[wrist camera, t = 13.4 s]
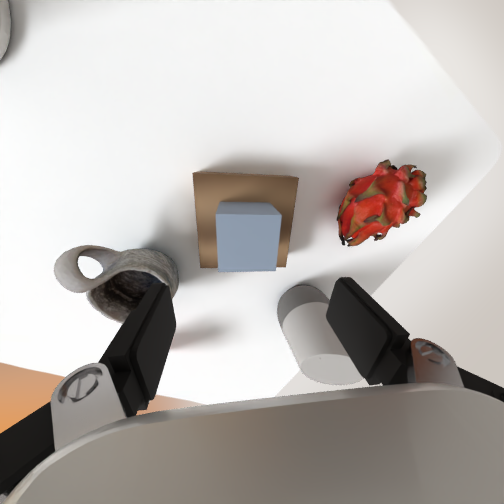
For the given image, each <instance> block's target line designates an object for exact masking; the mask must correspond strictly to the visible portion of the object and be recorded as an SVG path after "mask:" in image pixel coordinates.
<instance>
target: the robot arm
mask: <svg viewBox="0 0 504 504" xmlns="http://www.w3.org/2000/svg"><path fill="white" fill-rule="evenodd" d="M10 30H11V18H10V10H9V2H8V0H0V60H1V58H2V56H3V55H4V53H5V52H6V50H7V46H8V43H9V39H10ZM326 319H327V321H328V323H329V325H330V326H331V328H332V329H333V331H334V333H335V334H336V336H337V338H338V339H339V341H340V342H341V344H342V346H343V347H344V349H345V351H346V352H347V354H348V355H349V357H350V359H351V360H352V362H353V364H354V365H355V367H356V368H357V370H358V372H359V373H360V375H361V376H362V377H363V378H365V379H366V381H367V382H368V384H369V385H377V384H380V383H382V384H383V386H374V387H365V388H355V389H345V390H336V391H327V392H317V393H308V394H299V395H290V396H282V397H272V398H262V399H254V400H245V401H237V402H228V403H219V404H211V405H202V406H195V407H187V408H180V409H172V410H165V411H158V412H152V413H147V414H142V415H136V414H137V411H138V410H146V409H147V407H148V404H149V401H150V400H153V399H154V397H155V395H156V391H157V388H158V385H159V381H160V378H161V375H162V372H163V368H164V365H165V362H166V359H167V355H168V352H169V349H170V346H171V342H172V339H173V336H174V333H175V329H176V319H175V314H174V308H173V303H172V298H171V292H170V287H169V285H166V284H165V283H152V284H151V286H150V287H149V289H148V291H147V292H146V294H145V295H144V297H143V299H142V300H141V302H140V304H139V305H138V307H137V308H136V310H132V311H131V312H130V314H129V315H128V317H127V318H126V320H125V321H124V323H123V324H122V326H121V328H120V329H119V331H118V332H117V334H116V335H115V337H114V339H113V340H112V342H111V343H110V345H109V346H108V348H107V350H106V351H105V353H104V354H103V356H102V357H101V359H100V361H99V362H98V363H92V364H88V365H85V366H82V367H80V368H78V369H76V370H75V371H73V372H72V373H70V374H69V375H68V376H67V377H65V379H63V380H62V381H61V382H60V383H59V385H58V386H57V387H56V388H55V390H54V392H53V394H52V397H51V401H50V402H49V403H47V404H46V405H44V406H42V407H41V408H39V409H38V410H36V411H35V412H33V413H32V414H30V415H28V416H27V417H26V418H24V419H22V420H21V421H19V422H18V423H16V424H14V425H13V426H11V427H10V428H8V429H7V430H5V431H4V432H2V433H0V504H504V388H502V387H500V386H498V385H496V384H494V383H492V382H490V381H487V380H485V379H483V378H481V377H479V376H477V375H474V374H472V373H470V372H468V371H466V370H464V369H462V368H459V367H457V366H456V363H455V361H454V359H453V358H452V356H451V355H450V354H449V353H448V352H447V351H445V350H444V349H443V348H442V347H440V346H438V345H436V344H435V343H433V342H431V341H429V340H425V339H421V338H416V339H413V340H412V341H410V340H409V339H408V337H409V335H410V334H409V333H408V332H407V331H406V330H405V329H404V328H403V327H402V326H401V325H400V324H399V323H398V322H397V321H396V320H395V319H394V318H393V317H392V316H390V315H389V314H388V313H387V312H386V311H385V310H384V309H383V308H382V307H381V306H380V305H379V304H378V303H377V302H376V301H375V300H374V299H373V298H372V297H371V296H370V295H369V294H368V293H367V292H366V291H365V290H363V289H362V288H361V287H360V286H359V285H358V284H357V283H356V282H355V281H354V280H353V279H352V278H350V277H341V278H339V279H338V280H337V281H336V282H335V286H334V289H333V292H332V296H331V299H330V302H329V306H328V309H327V312H326Z"/></svg>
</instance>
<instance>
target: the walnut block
mask: <svg viewBox="0 0 504 504" xmlns="http://www.w3.org/2000/svg"><path fill="white" fill-rule="evenodd" d="M298 179H299V178H297V177H293V176H281V175H260V174H238V173H217V172H194V173H193V184H194V196H195V208H196V220H197V232H198V244H199V256H200V268H218V254H217V233H216V211H217V208H218V205H219V202H267V203H271V204H272V205H273V206H274V207H275V208H276V210H277V211H278V212H279V213H280V214H281V215H282V217H281V227H280V236H279V245H278V255H277V264H276V267H286V262H287V255H288V248H289V242H290V235H291V228H292V221H293V214H294V207H295V200H296V193H297V186H298Z"/></svg>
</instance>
